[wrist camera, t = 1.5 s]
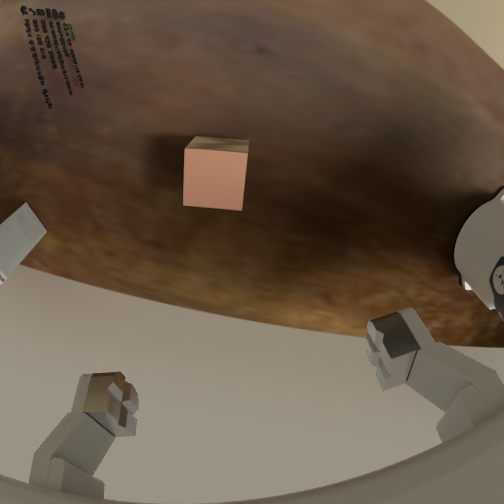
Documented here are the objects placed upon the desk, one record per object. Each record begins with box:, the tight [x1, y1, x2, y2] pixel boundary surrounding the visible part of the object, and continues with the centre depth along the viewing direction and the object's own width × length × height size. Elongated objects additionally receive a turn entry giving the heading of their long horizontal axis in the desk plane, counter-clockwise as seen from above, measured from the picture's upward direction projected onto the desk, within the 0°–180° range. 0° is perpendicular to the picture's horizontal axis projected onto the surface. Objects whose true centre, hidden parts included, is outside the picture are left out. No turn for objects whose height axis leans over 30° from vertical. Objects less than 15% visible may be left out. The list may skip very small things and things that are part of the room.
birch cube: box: [183, 136, 249, 211], centre depth 32 cm, size 6×6×6 cm
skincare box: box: [0, 202, 47, 285], centre depth 34 cm, size 6×4×12 cm
